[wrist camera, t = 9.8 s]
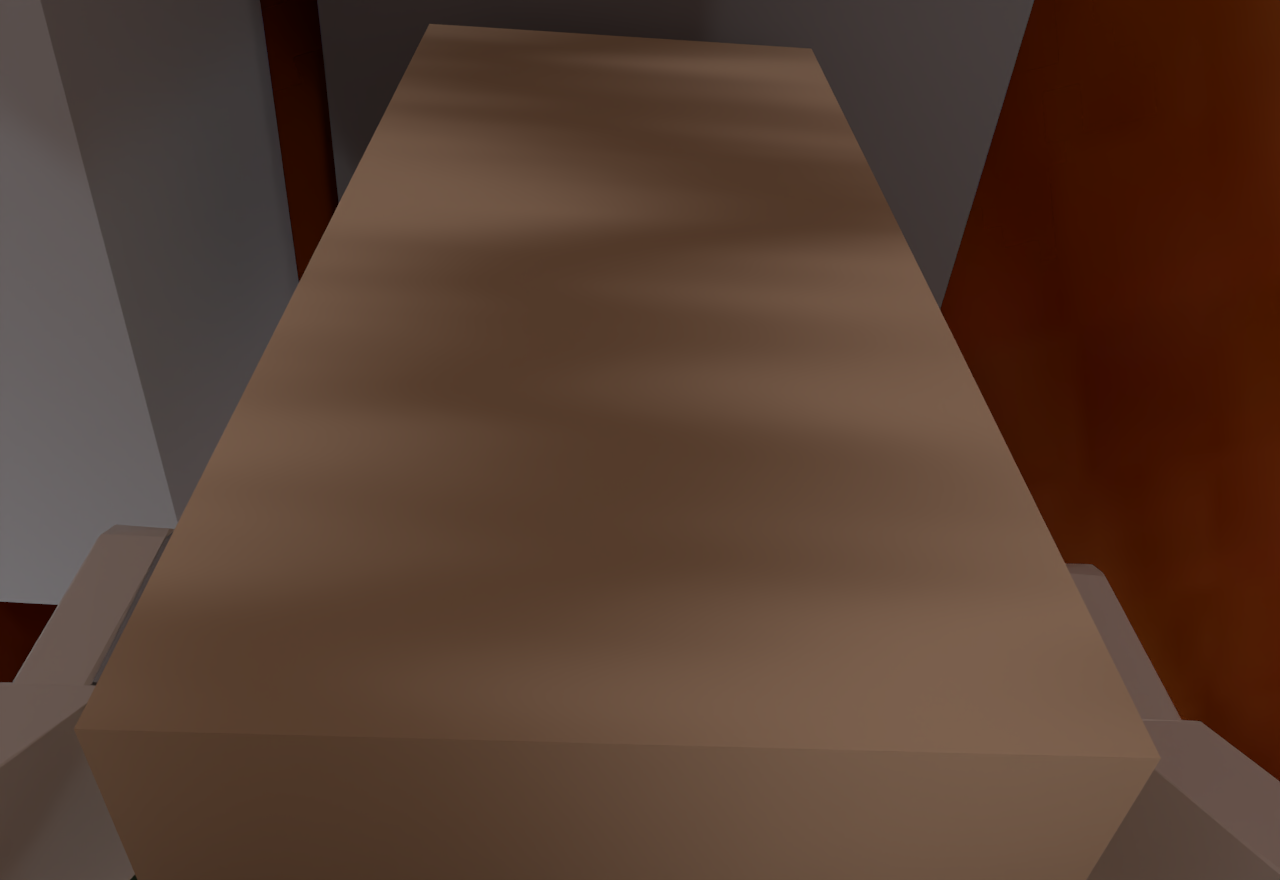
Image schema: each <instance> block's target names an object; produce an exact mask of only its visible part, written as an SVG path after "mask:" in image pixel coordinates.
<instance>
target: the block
mask: <svg viewBox="0 0 1280 880" xmlns="http://www.w3.org/2000/svg"><path fill="white" fill-rule="evenodd" d="M74 731H75V733H76V735H77V738H78V740H79V743H80V745H81V747H82V750H83V752H84V754H85V757H86V759H87V762H88V764H89V766H90V769H91V771H92V773H93V776H94V778H95V780H96V783H97V785H98V788H99V790H100V792H101V795H102V797H103V799H104V802H105V804H106V807H107V809H108V811H109V814H110V816H111V818H112V821H113V823H114V825H115V828H116V830H117V833H118V835H119V837H120V840H121V842H122V844H123V847H124V849H125V851H126V854H127V856H128V859H129V861H130V863H131V866H132V868H133V870H134V873H135V875H136V878H137V880H1086V879H1087V878H1088V876H1089V875H1090V873H1091V871H1092V870H1093V868H1094V866H1095V865H1096V863H1097V862H1098V860H1099V858H1100V857H1101V855H1102V853H1103V852H1104V850H1105V849H1106V847H1107V845H1108V844H1109V842H1110V840H1111V839H1112V837H1113V836H1114V834H1115V832H1116V831H1117V829H1118V827H1119V826H1120V824H1121V823H1122V821H1123V819H1124V818H1125V816H1126V814H1127V813H1128V811H1129V810H1130V808H1131V806H1132V805H1133V803H1134V801H1135V800H1136V798H1137V797H1138V795H1139V793H1140V792H1141V790H1142V788H1143V787H1144V785H1145V784H1146V782H1147V780H1148V779H1149V777H1150V775H1151V774H1152V772H1153V771H1154V769H1155V767H1156V766H1157V764H1158V762H1159V761H1160V759H1161V757H1160V755H1159V753H1158V751H1157V749H1156V747H1155V745H1154V743H1153V741H1152V739H1151V737H1150V735H1149V733H1148V731H1147V729H1146V727H1145V725H1144V723H1143V721H1142V719H1141V717H1140V715H1139V713H1138V711H1137V709H1136V707H1135V704H1134V702H1133V700H1132V698H1131V696H1130V694H1129V692H1128V690H1127V688H1126V686H1125V684H1124V682H1123V680H1122V678H1121V676H1120V674H1119V672H1118V670H1117V668H1116V666H1115V664H1114V662H1113V660H1112V658H1111V656H1110V654H1109V652H1108V650H1107V648H1106V646H1105V644H1104V642H1103V640H1102V637H1101V635H1100V633H1099V631H1098V629H1097V627H1096V625H1095V623H1094V621H1093V619H1092V617H1091V615H1090V613H1089V611H1088V609H1087V607H1086V605H1085V603H1084V601H1083V599H1082V597H1081V595H1080V593H1079V591H1078V589H1077V587H1076V585H1075V583H1074V581H1073V579H1072V577H1071V575H1070V573H1069V570H1068V568H1067V566H1066V564H1065V562H1064V560H1063V558H1062V556H1061V554H1060V552H1059V550H1058V548H1057V546H1056V544H1055V542H1054V540H1053V538H1052V536H1051V534H1050V532H1049V530H1048V528H1047V526H1046V524H1045V522H1044V520H1043V518H1042V516H1041V514H1040V512H1039V510H1038V508H1037V506H1036V503H1035V501H1034V499H1033V497H1032V495H1031V493H1030V491H1029V489H1028V487H1027V485H1026V483H1025V481H1024V479H1023V477H1022V475H1021V473H1020V471H1019V469H1018V467H1017V465H1016V463H1015V461H1014V459H1013V457H1012V455H1011V453H1010V451H1009V449H1008V447H1007V445H1006V443H1005V441H1004V439H1003V436H1002V434H1001V432H1000V430H999V428H998V426H997V424H996V422H995V420H994V418H993V416H992V414H991V412H990V410H989V408H988V406H987V404H986V402H985V400H984V398H983V396H982V394H981V392H980V390H979V388H978V386H977V384H976V382H975V380H974V378H973V376H972V374H971V372H970V370H969V367H968V365H967V363H966V361H965V359H964V357H963V355H962V353H961V351H960V349H959V347H958V345H957V343H956V341H955V339H954V337H953V335H952V333H951V331H950V329H949V327H948V325H947V323H946V321H945V319H944V317H943V315H942V313H941V311H940V309H939V307H938V305H937V303H936V300H935V298H934V296H933V294H932V292H931V290H930V288H929V286H928V284H927V282H926V280H925V278H924V276H923V274H922V272H921V270H920V268H919V266H918V264H917V262H916V260H915V258H914V256H913V254H912V252H911V250H910V248H909V246H908V244H907V242H906V240H905V238H904V236H903V233H902V231H901V229H900V227H899V225H898V223H897V221H896V219H895V217H894V215H893V213H892V211H891V209H890V207H889V205H888V203H887V201H886V199H885V197H884V195H883V193H882V191H881V189H880V187H879V185H878V183H877V181H876V179H875V177H874V175H873V173H872V171H871V169H870V166H869V164H868V162H867V160H866V158H865V156H864V154H863V152H862V150H861V148H860V146H859V144H858V142H857V140H856V138H855V136H854V134H853V132H852V130H851V128H850V126H849V124H848V122H847V120H846V118H845V116H844V114H843V112H842V110H841V108H840V106H839V104H838V102H837V99H836V97H835V95H834V93H833V91H832V89H831V87H830V85H829V83H828V81H827V79H826V77H825V75H824V73H823V71H822V69H821V67H820V65H819V63H818V61H817V59H816V57H815V55H814V53H813V51H812V49H810V48H794V47H779V46H764V45H748V44H733V43H718V42H702V41H687V40H672V39H656V38H641V37H626V36H610V35H595V34H579V33H564V32H549V31H533V30H518V29H503V28H487V27H472V26H457V25H441V24H429V26H428V28H427V30H426V32H425V34H424V36H423V38H422V39H421V41H420V43H419V45H418V47H417V49H416V51H415V53H414V55H413V57H412V59H411V61H410V63H409V65H408V67H407V69H406V71H405V73H404V75H403V77H402V79H401V81H400V83H399V85H398V87H397V89H396V91H395V93H394V95H393V97H392V99H391V101H390V103H389V105H388V107H387V109H386V111H385V113H384V115H383V117H382V119H381V121H380V123H379V125H378V127H377V129H376V131H375V133H374V135H373V137H372V139H371V141H370V143H369V145H368V147H367V149H366V151H365V153H364V155H363V157H362V159H361V161H360V162H359V164H358V166H357V168H356V170H355V172H354V174H353V176H352V178H351V180H350V182H349V184H348V186H347V188H346V190H345V192H344V194H343V196H342V198H341V200H340V202H339V204H338V206H337V208H336V210H335V212H334V214H333V216H332V218H331V220H330V222H329V224H328V226H327V228H326V230H325V232H324V234H323V236H322V238H321V240H320V242H319V244H318V246H317V248H316V250H315V252H314V254H313V256H312V258H311V260H310V262H309V264H308V266H307V268H306V270H305V272H304V274H303V276H302V278H301V280H300V282H299V284H298V285H297V287H296V289H295V291H294V293H293V295H292V297H291V299H290V301H289V303H288V305H287V307H286V309H285V311H284V313H283V315H282V317H281V319H280V321H279V323H278V325H277V327H276V329H275V331H274V333H273V335H272V337H271V339H270V341H269V343H268V345H267V347H266V349H265V351H264V353H263V355H262V357H261V359H260V361H259V363H258V365H257V367H256V369H255V371H254V373H253V375H252V377H251V379H250V381H249V383H248V385H247V387H246V389H245V391H244V393H243V395H242V397H241V399H240V401H239V403H238V405H237V407H236V408H235V410H234V412H233V414H232V416H231V418H230V420H229V422H228V424H227V426H226V428H225V430H224V432H223V434H222V436H221V438H220V440H219V442H218V444H217V446H216V448H215V450H214V452H213V454H212V456H211V458H210V460H209V462H208V464H207V466H206V468H205V470H204V472H203V474H202V476H201V478H200V480H199V482H198V484H197V486H196V488H195V490H194V492H193V494H192V496H191V498H190V500H189V502H188V504H187V506H186V508H185V510H184V512H183V514H182V516H181V518H180V520H179V522H178V524H177V526H176V528H175V530H174V531H173V533H172V535H171V537H170V539H169V541H168V543H167V545H166V547H165V549H164V551H163V553H162V555H161V557H160V559H159V561H158V563H157V565H156V567H155V569H154V571H153V573H152V575H151V577H150V579H149V581H148V583H147V585H146V587H145V589H144V591H143V593H142V595H141V597H140V599H139V601H138V603H137V605H136V607H135V609H134V611H133V613H132V615H131V617H130V619H129V621H128V623H127V625H126V627H125V629H124V631H123V633H122V635H121V637H120V639H119V641H118V643H117V645H116V647H115V649H114V651H113V653H112V654H111V656H110V658H109V660H108V662H107V664H106V666H105V668H104V670H103V672H102V674H101V676H100V678H99V680H98V682H97V684H96V686H95V688H94V690H93V692H92V694H91V696H90V698H89V700H88V702H87V704H86V706H85V708H84V710H83V712H82V714H81V716H80V718H79V720H78V722H77V724H76V726H75V728H74Z"/></svg>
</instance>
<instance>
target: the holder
mask: <svg viewBox="0 0 1280 880" xmlns="http://www.w3.org/2000/svg"><path fill="white" fill-rule="evenodd" d="M298 284H299V281H298V273H297V266H296V259H295V252H294V244H293V237H292V230H291V222H290V215H289V208H288V201H287V193H286V186H285V179H284V172H283V164H282V157H281V150H280V142H279V135H278V128H277V121H276V113H275V106H274V99H273V92H272V84H271V77H270V70H269V63H268V55H267V48H266V41H265V33H264V26H263V19H262V12H261V4H260V0H0V602H17V603H35V604H53V605H58V604H59V602H60V601H61V599H62V597H63V596H64V594H65V592H66V591H67V589H68V587H69V586H70V584H71V582H72V580H73V579H74V577H75V575H76V574H77V572H78V570H79V569H80V567H81V565H82V564H83V562H84V560H85V558H86V557H87V555H88V553H89V552H90V550H91V548H92V547H93V545H94V543H95V542H96V540H97V538H98V537H99V536H100V535H101V534H102V533H104V532H105V531H107V530H108V529H110V528H111V527H112V526H114V525H128V526H143V527H157V528H171V529H175V528H176V526H177V524H178V522H179V520H180V518H181V516H182V514H183V512H184V510H185V508H186V506H187V504H188V502H189V500H190V498H191V496H192V494H193V492H194V490H195V488H196V486H197V484H198V482H199V480H200V478H201V476H202V474H203V472H204V470H205V468H206V466H207V464H208V462H209V460H210V458H211V456H212V454H213V452H214V450H215V448H216V446H217V444H218V442H219V440H220V438H221V436H222V434H223V432H224V430H225V428H226V426H227V424H228V422H229V420H230V418H231V416H232V414H233V412H234V410H235V408H236V407H237V405H238V403H239V401H240V399H241V397H242V395H243V393H244V391H245V389H246V387H247V385H248V383H249V381H250V379H251V377H252V375H253V373H254V371H255V369H256V367H257V365H258V363H259V361H260V359H261V357H262V355H263V353H264V351H265V349H266V347H267V345H268V343H269V341H270V339H271V337H272V335H273V333H274V331H275V329H276V327H277V325H278V323H279V321H280V319H281V317H282V315H283V313H284V311H285V309H286V307H287V305H288V303H289V301H290V299H291V297H292V295H293V293H294V291H295V289H296V287H297V285H298Z"/></svg>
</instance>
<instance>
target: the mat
mask: <svg viewBox="0 0 1280 880" xmlns="http://www.w3.org/2000/svg"><path fill="white" fill-rule="evenodd" d="M317 1H318V11H319V20H320V30H321V39H322V49H323V58H324V68H325V78H326V87H327V97H328V106H329V116H330V125H331V135H332V144H333V154H334V163H335V173H336V183H337V192H338V202H340V200H341V198H342V196H343V194H344V192H345V190H346V188H347V186H348V184H349V182H350V180H351V178H352V176H353V174H354V172H355V170H356V168H357V166H358V164H359V162H360V161H361V159H362V157H363V155H364V153H365V151H366V149H367V147H368V145H369V143H370V141H371V139H372V137H373V135H374V133H375V131H376V129H377V127H378V125H379V123H380V121H381V119H382V117H383V115H384V113H385V111H386V109H387V107H388V105H389V103H390V101H391V99H392V97H393V95H394V93H395V91H396V89H397V87H398V85H399V83H400V81H401V79H402V77H403V75H404V73H405V71H406V69H407V67H408V65H409V63H410V61H411V59H412V57H413V55H414V53H415V51H416V49H417V47H418V45H419V43H420V41H421V39H422V38H423V36H424V34H425V32H426V30H427V28H428V26H429V24H441V25H457V26H472V27H487V28H503V29H518V30H533V31H549V32H564V33H579V34H595V35H610V36H626V37H641V38H656V39H672V40H687V41H702V42H718V43H733V44H748V45H764V46H779V47H794V48H810V49H812V51H813V53H814V55H815V57H816V59H817V61H818V63H819V65H820V67H821V69H822V71H823V73H824V75H825V77H826V79H827V81H828V83H829V85H830V87H831V89H832V91H833V93H834V95H835V97H836V99H837V102H838V104H839V106H840V108H841V110H842V112H843V114H844V116H845V118H846V120H847V122H848V124H849V126H850V128H851V130H852V132H853V134H854V136H855V138H856V140H857V142H858V144H859V146H860V148H861V150H862V152H863V154H864V156H865V158H866V160H867V162H868V164H869V166H870V169H871V171H872V173H873V175H874V177H875V179H876V181H877V183H878V185H879V187H880V189H881V191H882V193H883V195H884V197H885V199H886V201H887V203H888V205H889V207H890V209H891V211H892V213H893V215H894V217H895V219H896V221H897V223H898V225H899V227H900V229H901V231H902V233H903V236H904V238H905V240H906V242H907V244H908V246H909V248H910V250H911V252H912V254H913V256H914V258H915V260H916V262H917V264H918V266H919V268H920V270H921V272H922V274H923V276H924V278H925V280H926V282H927V284H928V286H929V288H930V290H931V292H932V294H933V296H934V298H935V300H936V303H937V305H938V307H939V309H940V308H941V305H942V302H943V298H944V295H945V292H946V289H947V285H948V282H949V279H950V275H951V272H952V269H953V265H954V262H955V259H956V256H957V252H958V249H959V246H960V242H961V239H962V236H963V233H964V229H965V226H966V223H967V219H968V216H969V213H970V210H971V206H972V203H973V200H974V196H975V193H976V190H977V187H978V183H979V180H980V177H981V173H982V170H983V167H984V164H985V160H986V157H987V154H988V150H989V147H990V144H991V141H992V137H993V134H994V131H995V127H996V124H997V121H998V117H999V114H1000V111H1001V108H1002V104H1003V101H1004V98H1005V94H1006V91H1007V88H1008V85H1009V81H1010V78H1011V75H1012V71H1013V68H1014V65H1015V62H1016V58H1017V55H1018V52H1019V48H1020V45H1021V42H1022V39H1023V35H1024V32H1025V29H1026V25H1027V22H1028V19H1029V16H1030V12H1031V9H1032V6H1033V2H1034V0H317Z"/></svg>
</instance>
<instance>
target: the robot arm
mask: <svg viewBox="0 0 1280 880" xmlns="http://www.w3.org/2000/svg"><path fill="white" fill-rule="evenodd" d="M174 530H175V529H171V528H157V527H143V526H128V525H114V526H112V527H111V528H110V529H108V530H107V531H105V532H104V533H102V534H101V535H100V536H99V537H98V538H97V540H96V542H95V543H94V545H93V547H92V548H91V550H90V552H89V553H88V555H87V557H86V558H85V560H84V562H83V564H82V565H81V567H80V569H79V570H78V572H77V574H76V575H75V577H74V579H73V580H72V582H71V584H70V586H69V587H68V589H67V591H66V592H65V594H64V596H63V597H62V599H61V601H60V602H59V604H58V606H57V608H56V609H55V611H54V613H53V614H52V616H51V618H50V619H49V621H48V623H47V624H46V626H45V628H44V630H43V631H42V633H41V635H40V636H39V638H38V640H37V641H36V643H35V645H34V646H33V648H32V650H31V652H30V653H29V655H28V657H27V658H26V660H25V662H24V663H23V665H22V667H21V668H20V670H19V672H18V674H17V675H16V677H15V679H14V680H13V682H0V880H130V879H131V878H132V877H133V876H134V875H135V873H134V870H133V868H132V866H131V863H130V861H129V859H128V856H127V854H126V851H125V849H124V847H123V844H122V842H121V840H120V837H119V835H118V833H117V830H116V828H115V825H114V823H113V821H112V818H111V816H110V814H109V811H108V809H107V807H106V804H105V802H104V799H103V797H102V795H101V792H100V790H99V788H98V785H97V783H96V780H95V778H94V776H93V773H92V771H91V769H90V766H89V764H88V762H87V759H86V757H85V754H84V752H83V750H82V747H81V745H80V743H79V740H78V738H77V735H76V733H75V731H74V728H75V726H76V724H77V722H78V720H79V718H80V716H81V714H82V712H83V710H84V708H85V706H86V704H87V702H88V700H89V698H90V696H91V694H92V692H93V690H94V688H95V686H96V684H97V682H98V680H99V678H100V676H101V674H102V672H103V670H104V668H105V666H106V664H107V662H108V660H109V658H110V656H111V654H112V653H113V651H114V649H115V647H116V645H117V643H118V641H119V639H120V637H121V635H122V633H123V631H124V629H125V627H126V625H127V623H128V621H129V619H130V617H131V615H132V613H133V611H134V609H135V607H136V605H137V603H138V601H139V599H140V597H141V595H142V593H143V591H144V589H145V587H146V585H147V583H148V581H149V579H150V577H151V575H152V573H153V571H154V569H155V567H156V565H157V563H158V561H159V559H160V557H161V555H162V553H163V551H164V549H165V547H166V545H167V543H168V541H169V539H170V537H171V535H172V533H173V531H174ZM1066 566H1067V568H1068V570H1069V573H1070V575H1071V577H1072V579H1073V581H1074V583H1075V585H1076V587H1077V589H1078V591H1079V593H1080V595H1081V597H1082V599H1083V601H1084V603H1085V605H1086V607H1087V609H1088V611H1089V613H1090V615H1091V617H1092V619H1093V621H1094V623H1095V625H1096V627H1097V629H1098V631H1099V633H1100V635H1101V637H1102V640H1103V642H1104V644H1105V646H1106V648H1107V650H1108V652H1109V654H1110V656H1111V658H1112V660H1113V662H1114V664H1115V666H1116V668H1117V670H1118V672H1119V674H1120V676H1121V678H1122V680H1123V682H1124V684H1125V686H1126V688H1127V690H1128V692H1129V694H1130V696H1131V698H1132V700H1133V702H1134V704H1135V707H1136V709H1137V711H1138V713H1139V715H1140V717H1141V719H1142V721H1143V723H1144V725H1145V727H1146V729H1147V731H1148V733H1149V735H1150V737H1151V739H1152V741H1153V743H1154V745H1155V747H1156V749H1157V751H1158V753H1159V755H1160V757H1161V759H1160V761H1159V762H1158V764H1157V766H1156V767H1155V769H1154V771H1153V772H1152V774H1151V775H1150V777H1149V779H1148V780H1147V782H1146V784H1145V785H1144V787H1143V788H1142V790H1141V792H1140V793H1139V795H1138V797H1137V798H1136V800H1135V801H1134V803H1133V805H1132V806H1131V808H1130V810H1129V811H1128V813H1127V814H1126V816H1125V818H1124V819H1123V821H1122V823H1121V824H1120V826H1119V827H1118V829H1117V831H1116V832H1115V834H1114V836H1113V837H1112V839H1111V840H1110V842H1109V844H1108V845H1107V847H1106V849H1105V850H1104V852H1103V853H1102V855H1101V857H1100V858H1099V860H1098V862H1097V863H1096V865H1095V866H1094V868H1093V870H1092V871H1091V873H1090V875H1089V876H1088V878H1087V879H1086V880H1280V781H1278V780H1277V779H1276V778H1274V777H1273V776H1272V775H1271V774H1269V773H1268V772H1267V771H1265V770H1264V769H1263V768H1261V767H1260V766H1259V765H1257V764H1256V763H1255V762H1253V761H1252V760H1251V759H1249V758H1248V757H1247V756H1246V755H1244V754H1243V753H1242V752H1240V751H1239V750H1238V749H1236V748H1235V747H1234V746H1232V745H1231V744H1230V743H1228V742H1227V741H1226V740H1224V739H1223V738H1222V737H1220V736H1219V735H1218V734H1217V733H1215V732H1214V731H1213V730H1211V729H1210V728H1209V727H1207V726H1206V725H1205V724H1203V723H1202V722H1201V721H1190V720H1182V719H1181V717H1180V716H1179V714H1178V712H1177V710H1176V708H1175V706H1174V704H1173V702H1172V701H1171V699H1170V697H1169V695H1168V693H1167V691H1166V689H1165V687H1164V686H1163V684H1162V682H1161V680H1160V678H1159V676H1158V674H1157V672H1156V671H1155V669H1154V667H1153V665H1152V663H1151V661H1150V659H1149V657H1148V656H1147V654H1146V652H1145V650H1144V648H1143V646H1142V644H1141V642H1140V641H1139V639H1138V637H1137V635H1136V633H1135V631H1134V629H1133V627H1132V626H1131V624H1130V622H1129V620H1128V618H1127V616H1126V614H1125V612H1124V611H1123V609H1122V607H1121V605H1120V603H1119V601H1118V599H1117V598H1116V596H1115V594H1114V592H1113V590H1112V588H1111V586H1110V584H1109V583H1108V581H1107V579H1106V577H1105V575H1104V574H1103V572H1101V571H1100V570H1099V569H1098V568H1096V567H1095V566H1094V565H1092V564H1066Z"/></svg>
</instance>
